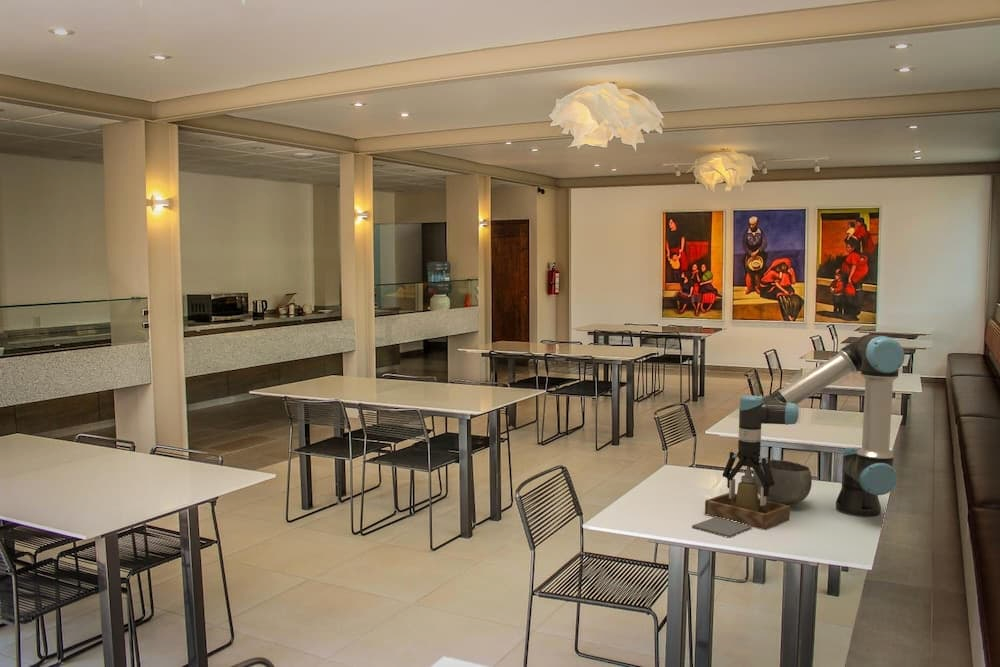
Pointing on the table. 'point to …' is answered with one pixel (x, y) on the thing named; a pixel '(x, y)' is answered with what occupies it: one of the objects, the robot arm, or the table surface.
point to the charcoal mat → (721, 527)
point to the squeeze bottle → (747, 492)
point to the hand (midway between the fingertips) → (747, 501)
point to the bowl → (787, 482)
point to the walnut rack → (748, 512)
